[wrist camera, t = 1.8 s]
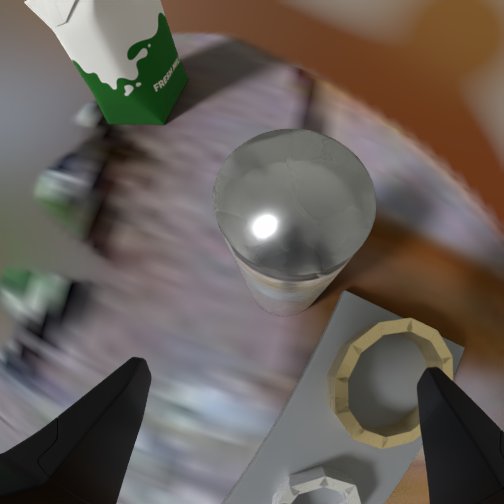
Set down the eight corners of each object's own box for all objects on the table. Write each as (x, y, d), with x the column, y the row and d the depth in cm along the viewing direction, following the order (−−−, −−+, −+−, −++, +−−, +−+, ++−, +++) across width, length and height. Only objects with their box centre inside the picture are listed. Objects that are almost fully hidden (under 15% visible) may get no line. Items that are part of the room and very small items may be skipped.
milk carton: (169, 132, 26) (84, -55, 7) (98, 131, 27) (3, -7, 8) (199, 74, 29) (154, -84, 9) (131, 77, 30) (70, -52, 11)
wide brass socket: (403, 448, 16) (417, 459, 13) (305, 413, 17) (310, 422, 15) (450, 346, 18) (468, 345, 15) (360, 303, 19) (370, 298, 17)
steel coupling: (301, 328, 20) (341, 304, 8) (237, 296, 21) (182, 228, 9) (331, 265, 21) (392, 165, 9) (269, 236, 22) (259, 111, 10)
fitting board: (341, 544, 14) (343, 550, 13) (219, 506, 16) (217, 512, 15) (457, 347, 18) (464, 347, 17) (341, 292, 21) (344, 290, 20)
